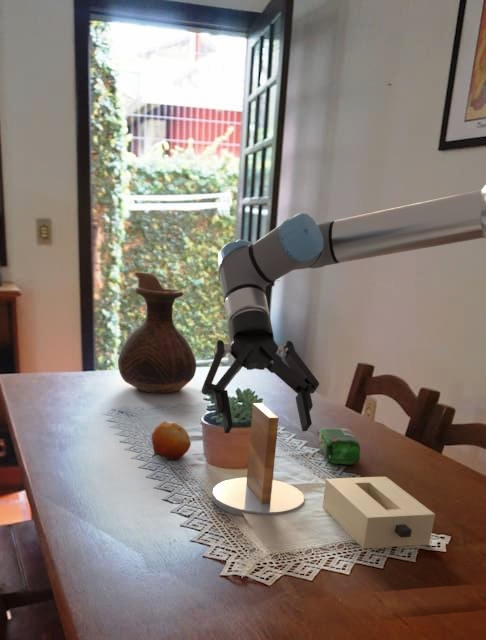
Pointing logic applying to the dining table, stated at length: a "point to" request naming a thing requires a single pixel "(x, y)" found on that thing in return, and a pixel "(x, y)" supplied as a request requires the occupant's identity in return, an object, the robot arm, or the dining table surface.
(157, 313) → the jug
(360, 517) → the toaster
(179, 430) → the fruit
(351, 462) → the snack package
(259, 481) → the toast
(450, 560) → the dining table surface
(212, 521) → the dining table surface
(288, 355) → the robot arm
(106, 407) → the dining table surface
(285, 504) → the plate
